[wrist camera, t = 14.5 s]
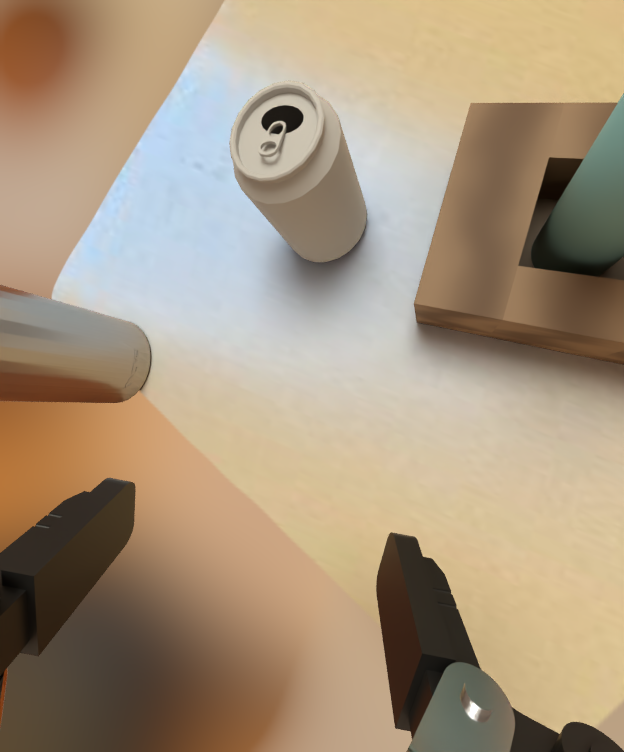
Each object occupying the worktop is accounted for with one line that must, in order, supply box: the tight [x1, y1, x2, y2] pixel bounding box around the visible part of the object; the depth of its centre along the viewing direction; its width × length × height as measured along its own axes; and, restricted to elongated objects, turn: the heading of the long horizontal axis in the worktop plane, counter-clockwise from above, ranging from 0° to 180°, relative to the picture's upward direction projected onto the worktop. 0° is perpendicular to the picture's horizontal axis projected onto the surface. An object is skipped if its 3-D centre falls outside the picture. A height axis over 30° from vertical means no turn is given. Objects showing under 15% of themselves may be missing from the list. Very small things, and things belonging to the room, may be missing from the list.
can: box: [229, 81, 367, 262], centre depth 26 cm, size 8×8×12 cm
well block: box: [414, 103, 624, 365], centre depth 23 cm, size 18×14×6 cm
